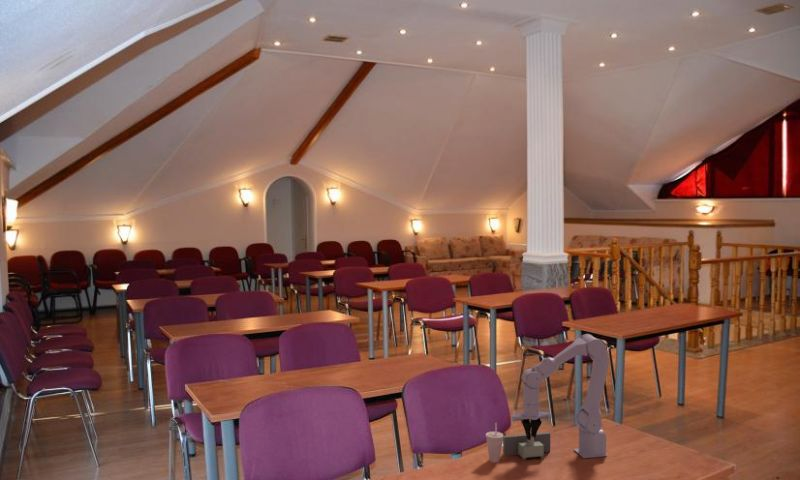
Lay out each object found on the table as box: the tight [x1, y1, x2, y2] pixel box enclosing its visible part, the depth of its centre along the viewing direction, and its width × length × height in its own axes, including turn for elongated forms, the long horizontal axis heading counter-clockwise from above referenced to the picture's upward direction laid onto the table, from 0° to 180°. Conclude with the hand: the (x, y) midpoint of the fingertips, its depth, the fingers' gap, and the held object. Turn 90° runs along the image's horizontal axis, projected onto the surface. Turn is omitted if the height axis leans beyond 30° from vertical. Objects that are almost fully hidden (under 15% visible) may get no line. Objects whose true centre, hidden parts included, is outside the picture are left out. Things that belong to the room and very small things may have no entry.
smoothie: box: [485, 422, 504, 464], centre depth 247 cm, size 6×6×14 cm
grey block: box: [517, 435, 545, 462], centre depth 250 cm, size 8×5×8 cm, turn 102°
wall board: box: [502, 431, 551, 459], centre depth 253 cm, size 18×4×7 cm, turn 102°
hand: (530, 438), depth 250 cm, fingers closed on grey block
